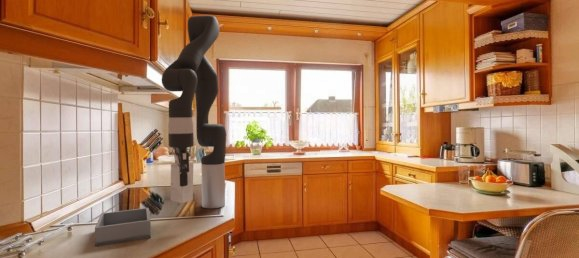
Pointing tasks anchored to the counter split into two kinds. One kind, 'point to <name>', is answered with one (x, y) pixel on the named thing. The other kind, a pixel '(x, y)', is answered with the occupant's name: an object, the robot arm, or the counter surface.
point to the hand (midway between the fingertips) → (182, 183)
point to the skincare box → (178, 191)
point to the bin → (122, 226)
